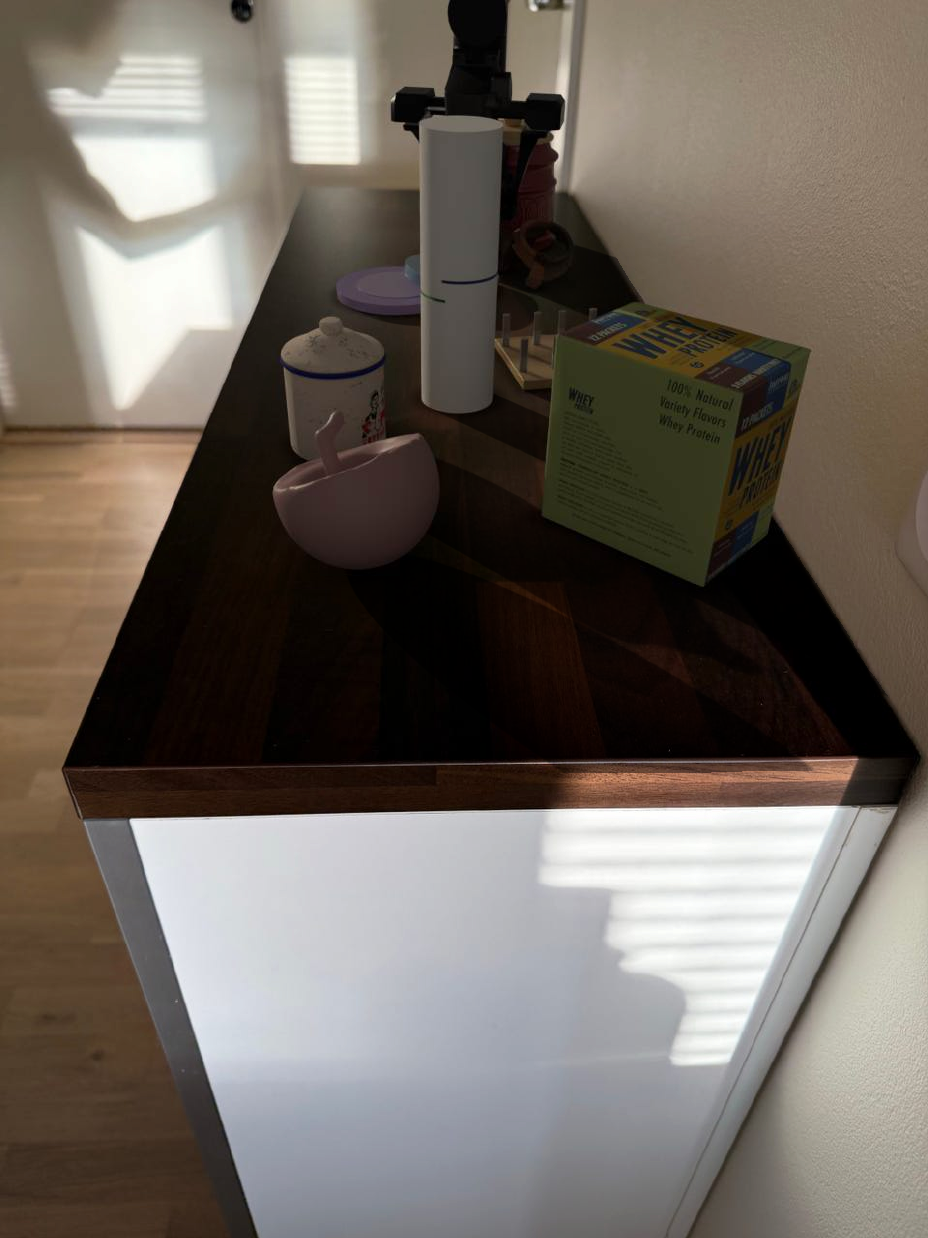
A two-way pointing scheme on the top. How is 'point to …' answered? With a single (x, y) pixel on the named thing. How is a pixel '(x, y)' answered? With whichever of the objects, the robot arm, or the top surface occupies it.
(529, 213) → the kitchen canister
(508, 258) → the pottery mug
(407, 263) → the blue plate
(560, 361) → the protein box
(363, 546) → the mortar and pestle
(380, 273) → the lavender plate
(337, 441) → the teacup with lid
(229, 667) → the top surface
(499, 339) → the dish rack
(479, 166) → the cylindrical container
